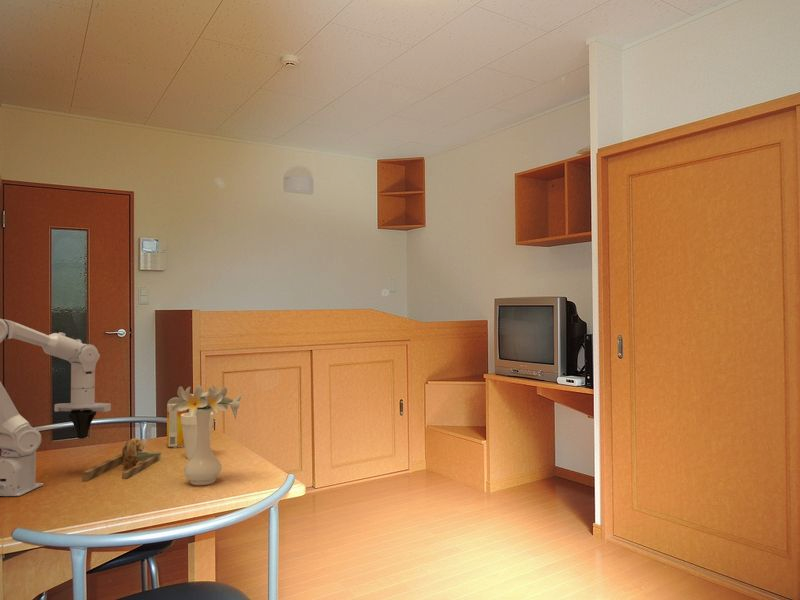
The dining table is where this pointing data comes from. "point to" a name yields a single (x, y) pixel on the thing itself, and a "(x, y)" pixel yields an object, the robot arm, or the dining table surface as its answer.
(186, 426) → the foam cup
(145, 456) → the flange channel
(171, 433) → the yellow box
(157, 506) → the dining table surface
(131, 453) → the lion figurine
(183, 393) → the flower vase
